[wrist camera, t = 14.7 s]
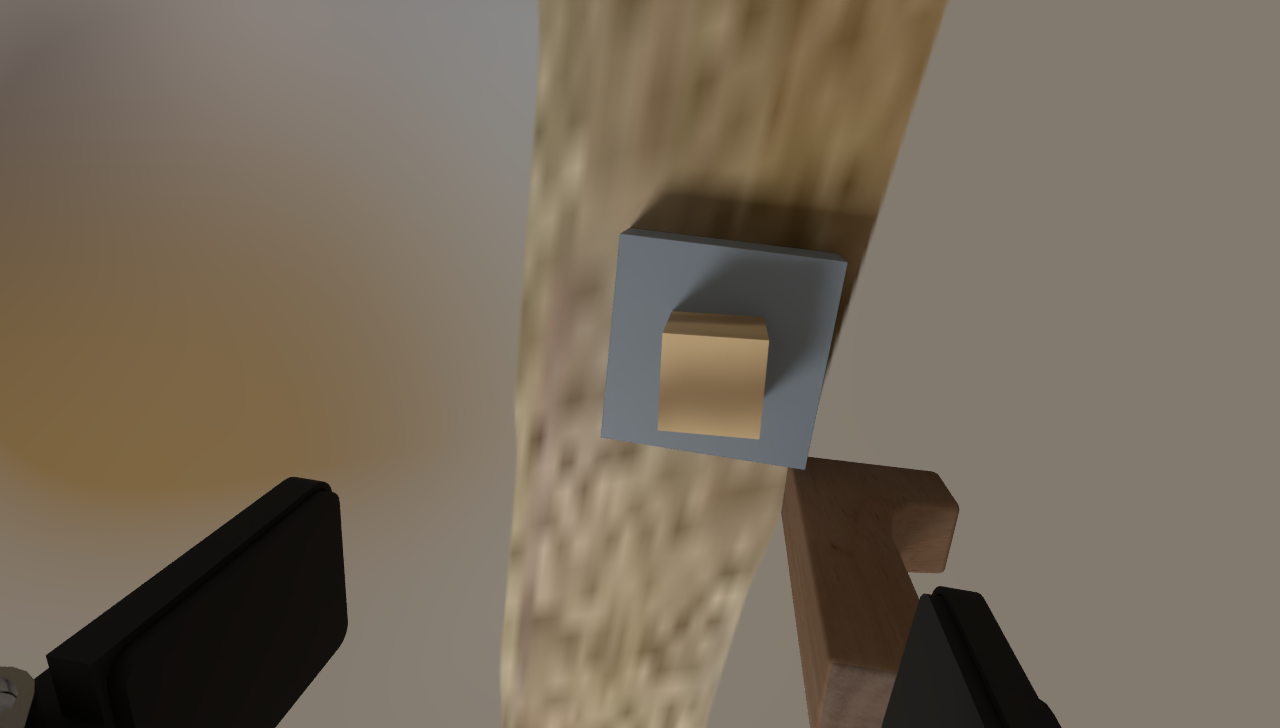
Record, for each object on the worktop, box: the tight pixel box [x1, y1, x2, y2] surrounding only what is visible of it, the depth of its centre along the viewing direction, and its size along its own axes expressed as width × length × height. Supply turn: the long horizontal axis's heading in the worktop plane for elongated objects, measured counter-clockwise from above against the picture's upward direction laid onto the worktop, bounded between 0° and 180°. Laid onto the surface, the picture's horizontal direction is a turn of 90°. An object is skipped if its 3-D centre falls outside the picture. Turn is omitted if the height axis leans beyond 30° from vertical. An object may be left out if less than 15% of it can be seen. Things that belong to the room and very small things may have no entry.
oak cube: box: [658, 311, 769, 439], centre depth 33 cm, size 5×5×5 cm
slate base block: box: [601, 228, 848, 470], centre depth 37 cm, size 12×12×4 cm
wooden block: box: [781, 457, 959, 728], centre depth 32 cm, size 9×4×18 cm, turn 86°
